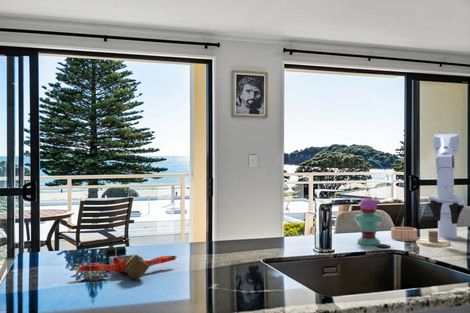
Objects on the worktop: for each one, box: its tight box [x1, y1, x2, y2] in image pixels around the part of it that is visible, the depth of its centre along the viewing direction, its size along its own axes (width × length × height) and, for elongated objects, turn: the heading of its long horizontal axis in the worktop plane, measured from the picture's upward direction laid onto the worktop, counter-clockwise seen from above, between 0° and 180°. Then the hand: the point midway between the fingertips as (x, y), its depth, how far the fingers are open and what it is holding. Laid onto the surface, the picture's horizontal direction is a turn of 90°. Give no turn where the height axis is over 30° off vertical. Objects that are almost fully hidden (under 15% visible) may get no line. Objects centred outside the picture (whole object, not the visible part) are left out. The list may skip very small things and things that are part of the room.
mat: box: [415, 240, 454, 249], centre depth 176 cm, size 12×12×1 cm
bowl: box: [390, 226, 418, 242], centre depth 188 cm, size 10×10×4 cm
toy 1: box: [74, 245, 178, 281], centre depth 139 cm, size 31×8×30 cm
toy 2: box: [354, 197, 384, 247], centre depth 180 cm, size 11×11×18 cm
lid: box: [416, 230, 451, 248], centre depth 176 cm, size 12×12×5 cm
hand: (445, 222), depth 171 cm, fingers open, 7 cm apart
